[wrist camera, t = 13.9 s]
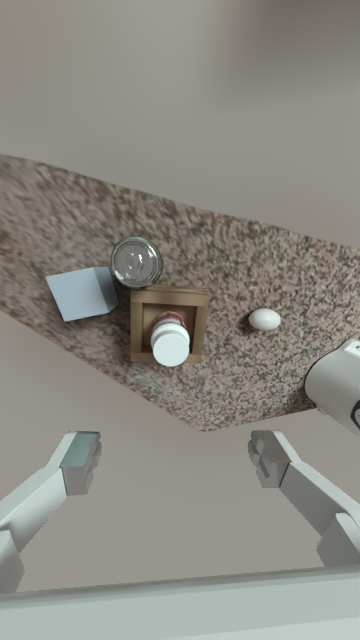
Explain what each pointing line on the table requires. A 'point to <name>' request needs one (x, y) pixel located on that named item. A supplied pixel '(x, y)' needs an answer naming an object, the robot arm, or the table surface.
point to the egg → (264, 319)
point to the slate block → (83, 292)
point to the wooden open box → (164, 299)
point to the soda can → (136, 262)
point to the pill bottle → (170, 339)
